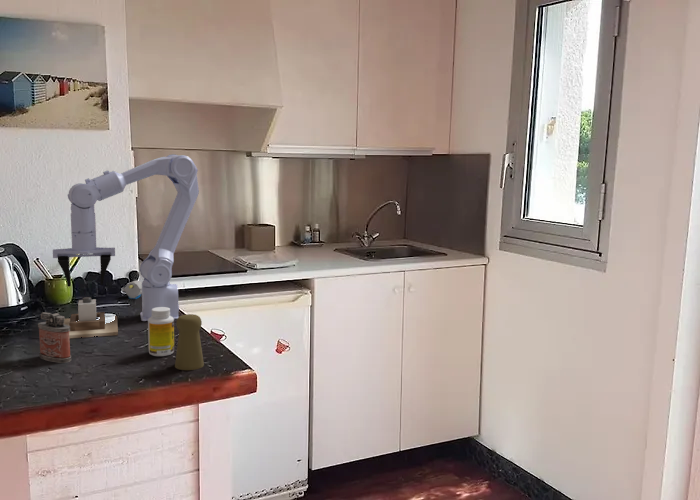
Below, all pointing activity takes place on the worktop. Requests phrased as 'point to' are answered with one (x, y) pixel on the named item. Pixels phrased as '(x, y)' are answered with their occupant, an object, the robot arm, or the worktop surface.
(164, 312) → the supplement bottle
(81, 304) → the plug
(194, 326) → the olive pepper mill
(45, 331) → the lighter
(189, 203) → the robot arm
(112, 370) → the worktop surface
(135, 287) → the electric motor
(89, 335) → the socket dock
